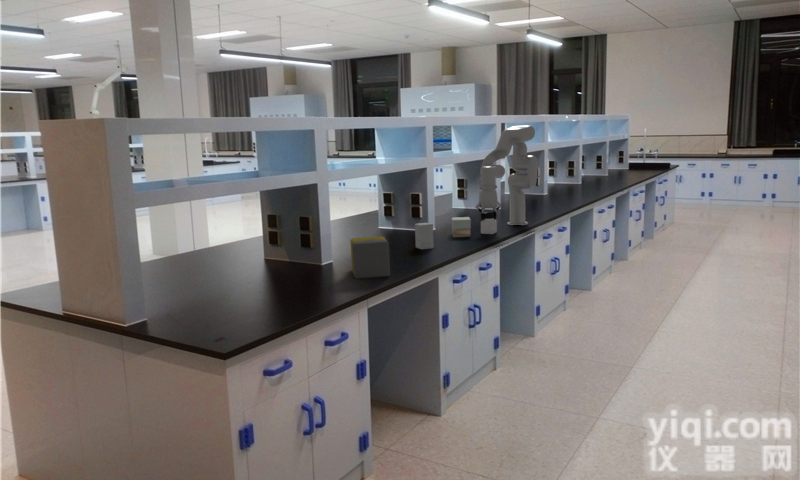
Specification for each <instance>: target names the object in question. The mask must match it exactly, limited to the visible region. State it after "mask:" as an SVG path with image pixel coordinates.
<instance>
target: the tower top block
mask: <svg viewBox="0 0 800 480" xmlns="http://www.w3.org/2000/svg"><path fill="white" fill-rule="evenodd" d="M471 224H472V219H471V218H470V216H461V217H457V216H454V217H451V229H452V228H453V229H466V228H470V229H472V225H471Z"/></svg>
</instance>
